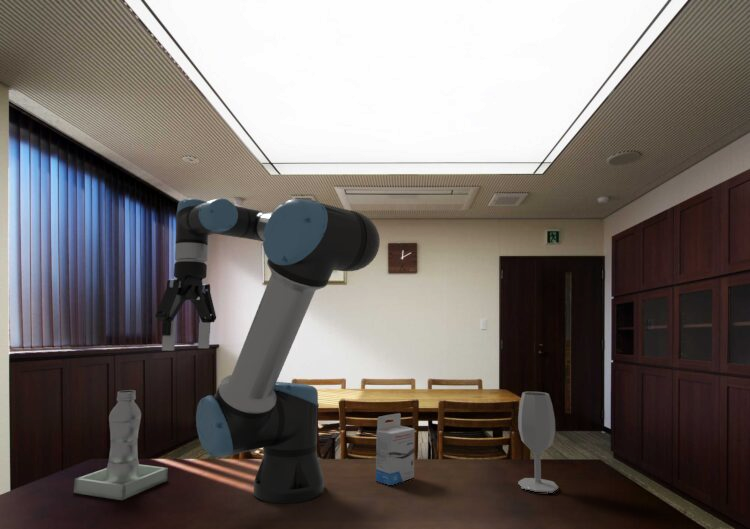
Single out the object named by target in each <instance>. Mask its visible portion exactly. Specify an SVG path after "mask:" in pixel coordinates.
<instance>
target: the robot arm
mask: <svg viewBox="0 0 750 529" xmlns="http://www.w3.org/2000/svg"><path fill="white" fill-rule="evenodd" d="M176 209H177V210H176V212H175V213H176V215H175V217H176V226H175V227H176V229H175V250H174V251H175V252H174V253H175V254H174V260H175V261H176V262H174V265H173V277H174V278H169V279H167V282H166V288H165V291H164V293H163V294H162V295H163V296H162V298H161V300H160V303H159V306H158V307H157V311H156V313H155V318H156V319H157V320H158V322H162V325H161V326H162V327H161V335H162V340H161V341H162V343H161V351H162V352H163V351H171V352H172V351H175V342H176V325H177V324H176V321H174V319H175V317H176V316H177V315H178V313H179V311H180V310H181V308H182V306H183V305H184V303H185V301H190V302H191V303H192V304H193V306H194V308H195V310H196V313H197V314H198V317H199V319H200V321H201V322H198V338H197V339H198V344H197V349H210V338H211V337H210V336H211V323H214V322H216V319H217V315H216V310H215V306H214V303H213V298H212V293H211V284H210V283H203V279H206V278H207V272H208V271H207V269H208V266H207V264H206V262H207V261H208V249H209V248H208V247H209V246H208V245H209V243H208V242H209V236H210V235H221V236H228V237H234V238H239V239H240V238H242V239H248V240H253V241H259V242H263V243H262V246H263V251H264V254H265V255H266V258H267V260H266V263H267V267H268V268H269V270H270V272H271V274H270V277H269V280H268V281H267V284H266V287H265V288H264V292H263V295H262V297H261V300H260V302H259V305H258V307H257V310H256V313H255V315H254V317H253V320H252V322H251V324H250V328H249V331H248V333H247V335H246V338H245V340H244V342H243V345H242V348H241V349H240V350H241V351H240V352H239V356H238V357H237V358H238V359H237V360H236V363H235V366H234V368H233V371H232V373H231V374H230V375H227V376H225V377H224V378H222V380H221V381H220V383H219V384H218V387H217V389H216V393H215V394H213V395H211V394H208V395H206V396H205V397H204V396H203V397H202V398H201V399H200V400H199V402H198V403H197V407H196V413H195V414H196V415H195V421H196V431H197V436H198V439H199V442H200V444H201V446H202V449H203V450H204V451H205V452H206V453H207V454H208V455H209V456H211V457H214V458H220V457H227V456H228V457H232V456H233V455H237V454H242V453H247V452H251V451H256V450H260V449H263V452H262V453H263V454H262V458H261V461H260V463H259V467H258V469H257V472H256V476H255V478H254V481H253V495H254V497H256V498H257V499H258V500H261V501H263V502H268V503H275V504H293V503H295V504H296V503H301V502H306V501H309V500H312V499H315V498H318V497H319V496H320V495H322V494H323V492H324V490H325V488H324V486H325V485H324V484H325V479H324V474H323V471H322V468H321V465H320V461H319V457H318V452H317V450H318V448H317V447H318V446H317V445H318V419H319V418H318V417H319V398H318V397H319V395H318V394H319V393H318V390H317V388H316V387H314V386H313V385H308V384H303V383H295V382H283V381H278V379H279V377H280V375H281V372H282V370H283V367H284V365H285V363H286V361H287V358H288V356H289V353H290V351H291V349H292V346H293V344H294V342H295V339H296V338H297V335H298V333H299V329H300V328H301V325H302V322H303V321H304V318H305V315H306V313H307V311H308V309H309V306H310V305H311V301H312V299H313V297H314V295H315V292H316V291H317V290H321V289H323V288H325V287H326V286H327V285H328V283H329V281H330V278H331V276H332V274H333V272H334V271H337V272H338V271H340V272H357V271H359V270H362V269H364V268H366V267H367V266H368V265H370V264H371V263H372V262H373V261H374V259H375V258H376V257H377V254H378V252H379V250H380V241H381V239H380V234H379V230H378V228H377V226H376V225H375V223H374V222H373V220H371V219H370V218H369V217H368V216H366V215H364V214H363V213H360V212H358V211H354V210H349V209H344V208H341V207H338V206H337V207H336V206H334V205H330V204H327V203H326V204H325V203H323V202H318V201H317V200H313V199H308V200H307V199H301V198H292V199H289V200H286V201H285V202H282V203H281V204H280V205H278V206H277V207H276V208H275V209H274V211H273V212H270V211H262V210H258V209H257V210H256V209H252V208H247V207H242V206H237V205H235V204H234V203H233V202H231V201H230V200H229V199H226V198H222V197H221V198H220V197H219V198H213V199H210V200H207V201H205V200H202V199H197V198H185V199H181V200H179V202H178V204H177V208H176Z"/></svg>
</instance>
